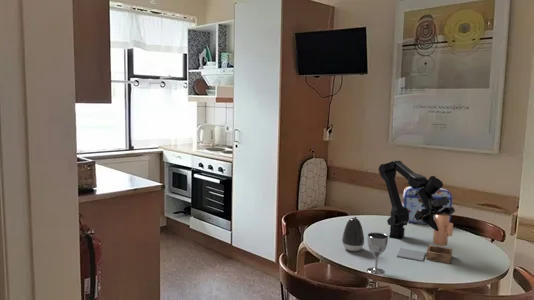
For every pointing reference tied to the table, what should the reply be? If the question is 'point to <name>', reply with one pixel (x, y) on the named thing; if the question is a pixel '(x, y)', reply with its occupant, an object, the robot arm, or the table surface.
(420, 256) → the mat
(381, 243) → the wine glass
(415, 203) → the lunch box
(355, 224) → the dark grey egg shape
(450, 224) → the tan dome with tab
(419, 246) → the table surface
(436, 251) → the holder
